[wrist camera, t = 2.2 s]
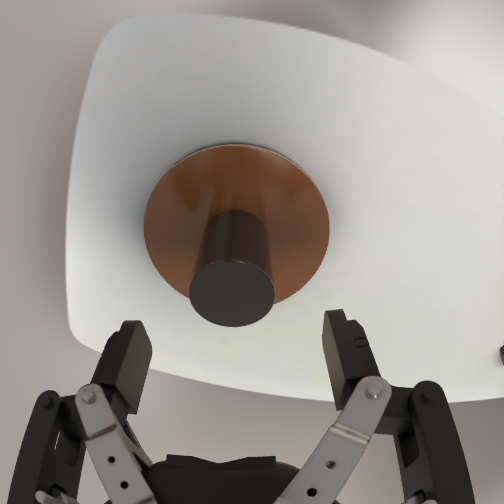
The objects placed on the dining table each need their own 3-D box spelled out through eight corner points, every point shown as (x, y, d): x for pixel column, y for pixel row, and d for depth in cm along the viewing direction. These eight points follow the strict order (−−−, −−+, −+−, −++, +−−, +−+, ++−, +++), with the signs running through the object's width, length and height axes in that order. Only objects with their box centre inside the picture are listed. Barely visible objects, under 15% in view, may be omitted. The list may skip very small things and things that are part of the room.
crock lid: (131, 155, 17) (81, 194, 12) (326, 136, 17) (366, 166, 11) (169, 304, 24) (151, 370, 18) (321, 294, 23) (340, 361, 17)
